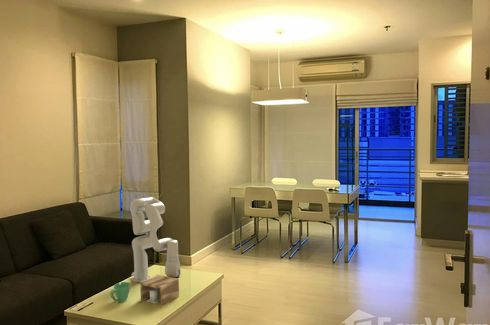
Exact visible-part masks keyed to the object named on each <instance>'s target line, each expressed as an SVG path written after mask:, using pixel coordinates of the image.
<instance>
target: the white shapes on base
mask: <svg viewBox="0 0 490 325" xmlns="http://www.w3.org/2000/svg"><path fill="white" fill-rule="evenodd" d="M146 302H148V303H152V304H157V303H159V302H161V295H160V289H158V288H157V290H156V289H152V290H150V297H149V299H148V298H147V300H146Z"/></svg>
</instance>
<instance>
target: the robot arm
mask: <svg viewBox="0 0 490 325" xmlns="http://www.w3.org/2000/svg"><path fill="white" fill-rule="evenodd" d="M129 210H130V214H131V219H132V231H133V234H134V235H136V236H137V237H134V238H133V239H132V241H131V247H132V251H133V264H134V266H133V268H134V269H133V270H134V271H133V272H132V273H131V275H130V276H132V282H133V283H140V282H142V281H144V280H146V279H148V278H151V276H150V275H149V267H148V266H149V264H148V263H149V262H148V259H149V258H148V254H147V252H146V249H150V248H152V249H153V250H155V252H162V251H166V257H165V258H166V261H165V265H164V267H165V268H164V273H165V275H166V276H167V277H172V278H177V279H180V278H181V271H182V270H181V263H180V260H179V242H178V240H177V239H172V238H171V237H165V238H161V239H158V235H157V231H158V229H159V228H160V227H162V226H163V224H164V220H163V218H162V216H161V215H162V214H165V212H166V206H165V204H164V203H163V202H162V201H161V200H159V199H157V198H155V197H154V196H148V197H140V198H136V199H133V200H132V201H131V202H130V204H129ZM143 211H145V214H146V217H147V219H145V214H144V213H143Z"/></svg>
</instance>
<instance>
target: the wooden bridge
mask: <svg viewBox="0 0 490 325" xmlns="http://www.w3.org/2000/svg"><path fill="white" fill-rule="evenodd" d="M179 279H180V278H172V277H168V276H167V275H166V276H165V275H161V274H155V275H153V276H152V277H151V276H150V278H148V279H146V280H144V281H142V282H139V288H140V289H139V290H140V300H141V301H144V300H146V299H148V298H150V290H152V289H156V290H157V288H158V289H160V295H161V301H160V306H164V305H165V304H168V303H170V302H171V301H173V300H174V299H177V298H178V297H180V286H179V285H180V284H179V283H180V280H179Z"/></svg>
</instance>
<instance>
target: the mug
mask: <svg viewBox="0 0 490 325" xmlns="http://www.w3.org/2000/svg"><path fill="white" fill-rule="evenodd" d="M113 288H114V289H111V290H110V292H109V293H110V298H111V299H112V300H113V301H115V302H126V301H127V299H128V296H129V293H130V288H131V283H130V282H128V281H124V282H123V281H122V282H120V283H119V282H117V283H115V284H114V285H113ZM114 293H115V295H116V296H115V297H114Z"/></svg>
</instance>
